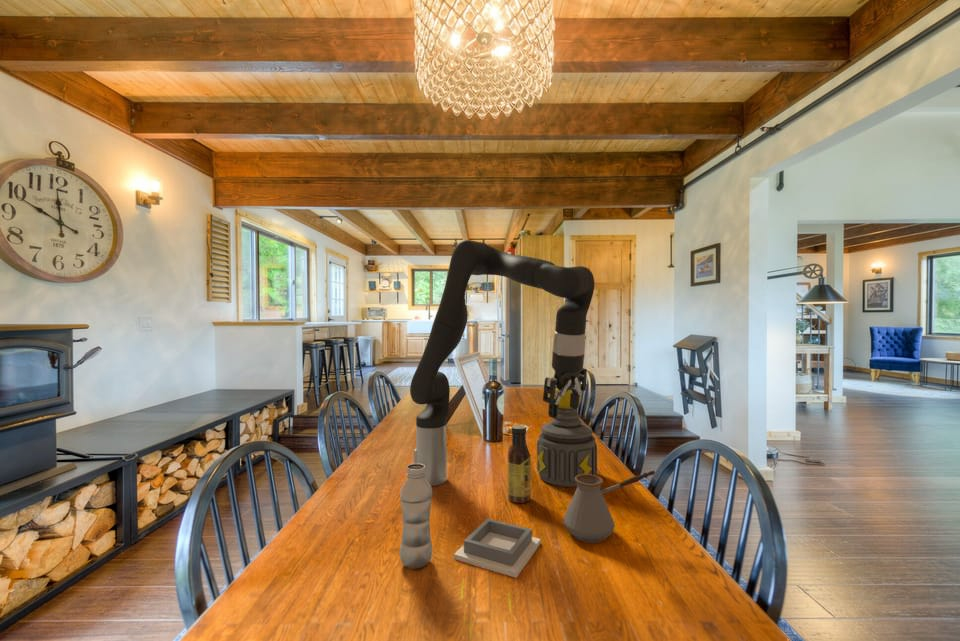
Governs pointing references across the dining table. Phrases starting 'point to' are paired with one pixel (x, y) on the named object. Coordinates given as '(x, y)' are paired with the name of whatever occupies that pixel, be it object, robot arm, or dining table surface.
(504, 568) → the bottle holder
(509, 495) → the sauce bottle
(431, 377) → the robot arm
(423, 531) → the plastic bottle
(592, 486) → the coffee pot
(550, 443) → the decorative lamp
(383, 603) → the dining table surface
